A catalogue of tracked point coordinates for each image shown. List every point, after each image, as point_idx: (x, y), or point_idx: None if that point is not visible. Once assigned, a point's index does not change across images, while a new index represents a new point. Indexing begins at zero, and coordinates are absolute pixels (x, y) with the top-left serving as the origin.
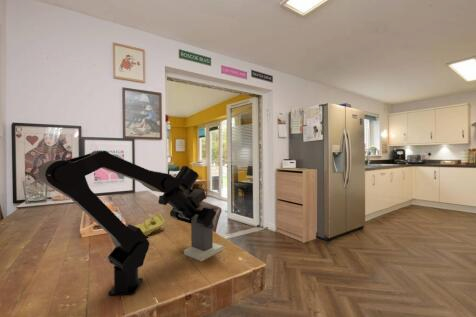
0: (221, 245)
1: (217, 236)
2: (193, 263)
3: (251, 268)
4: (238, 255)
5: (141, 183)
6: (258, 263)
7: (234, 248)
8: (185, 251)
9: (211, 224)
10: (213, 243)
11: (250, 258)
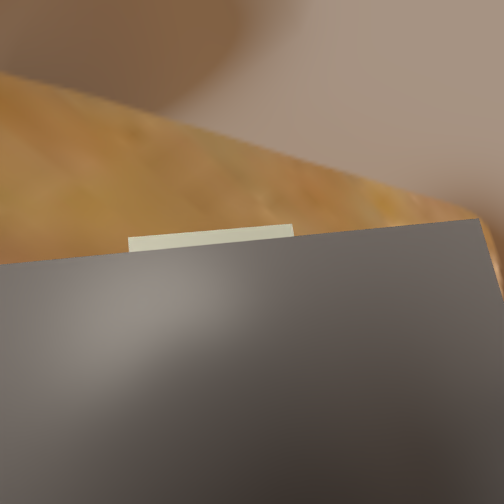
0: (280, 225)
1: (86, 103)
2: None
3: (496, 274)
4: (382, 223)
5: None
6: (482, 222)
7: (310, 176)
8: None
9: None
10: (217, 238)
11: (434, 209)
